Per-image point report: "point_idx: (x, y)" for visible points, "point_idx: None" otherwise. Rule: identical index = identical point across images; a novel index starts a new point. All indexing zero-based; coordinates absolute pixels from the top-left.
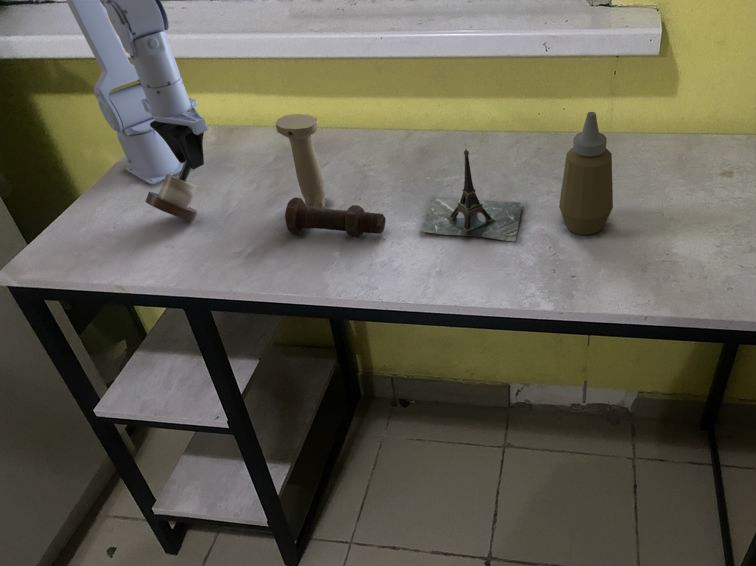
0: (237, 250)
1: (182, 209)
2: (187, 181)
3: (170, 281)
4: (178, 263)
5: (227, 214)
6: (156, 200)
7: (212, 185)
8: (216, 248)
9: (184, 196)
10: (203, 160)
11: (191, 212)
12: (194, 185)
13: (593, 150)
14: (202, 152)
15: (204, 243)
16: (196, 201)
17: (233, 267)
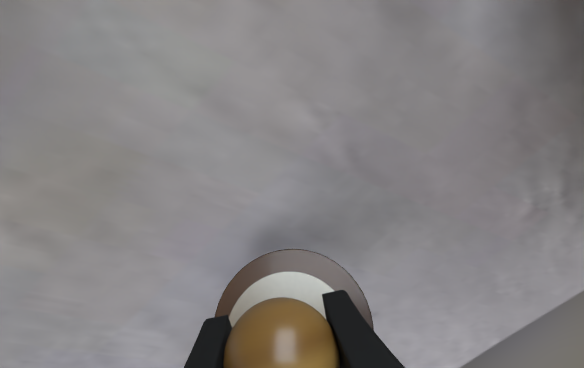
0: (524, 209)
1: (372, 326)
2: (249, 293)
3: (481, 344)
4: (441, 320)
5: (344, 161)
6: None
7: (106, 124)
8: (468, 244)
9: None
10: (352, 302)
11: (359, 288)
12: (316, 288)
13: None
14: (379, 339)
15: (423, 258)
16: (189, 207)
17: (567, 240)
